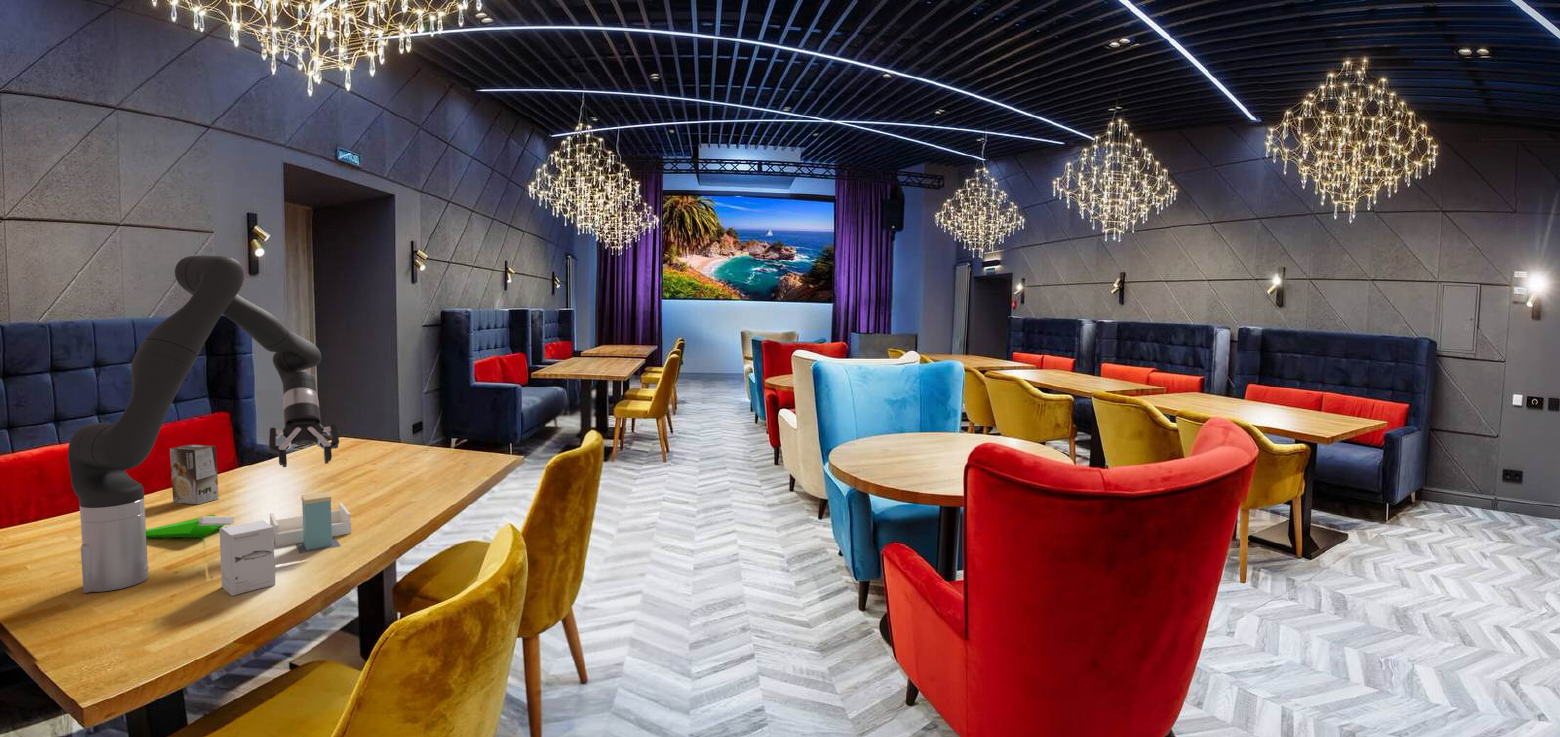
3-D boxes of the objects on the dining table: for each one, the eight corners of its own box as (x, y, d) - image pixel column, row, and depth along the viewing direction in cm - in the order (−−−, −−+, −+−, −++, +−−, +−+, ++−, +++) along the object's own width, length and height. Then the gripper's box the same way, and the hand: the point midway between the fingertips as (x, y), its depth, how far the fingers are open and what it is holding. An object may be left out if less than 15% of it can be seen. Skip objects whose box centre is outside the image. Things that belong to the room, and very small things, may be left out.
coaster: (299, 555, 151) (299, 553, 151) (295, 546, 157) (295, 543, 157) (340, 548, 157) (340, 545, 157) (334, 539, 163) (334, 536, 163)
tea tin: (306, 550, 154) (304, 500, 153) (303, 544, 157) (301, 495, 156) (332, 545, 157) (331, 496, 156) (329, 539, 161) (327, 491, 160)
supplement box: (231, 597, 130) (228, 535, 129) (221, 587, 134) (218, 527, 133) (276, 585, 136) (274, 526, 134) (265, 576, 140) (262, 518, 139)
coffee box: (220, 498, 193) (217, 445, 192) (197, 505, 187) (195, 449, 186) (194, 496, 195) (191, 443, 193) (171, 502, 189) (168, 448, 187)
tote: (276, 548, 156) (275, 526, 155) (270, 534, 165) (269, 512, 165) (351, 535, 166) (350, 514, 165) (341, 522, 176) (341, 502, 175)
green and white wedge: (85, 554, 154) (201, 536, 157) (86, 531, 155) (201, 513, 158) (127, 552, 165) (234, 534, 168) (127, 530, 166) (234, 513, 169)
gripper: (267, 402, 162) (270, 459, 155) (336, 400, 172) (342, 453, 165) (266, 418, 167) (269, 474, 160) (333, 415, 176) (338, 468, 169)
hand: (306, 463), depth 162 cm, fingers open, 8 cm apart
